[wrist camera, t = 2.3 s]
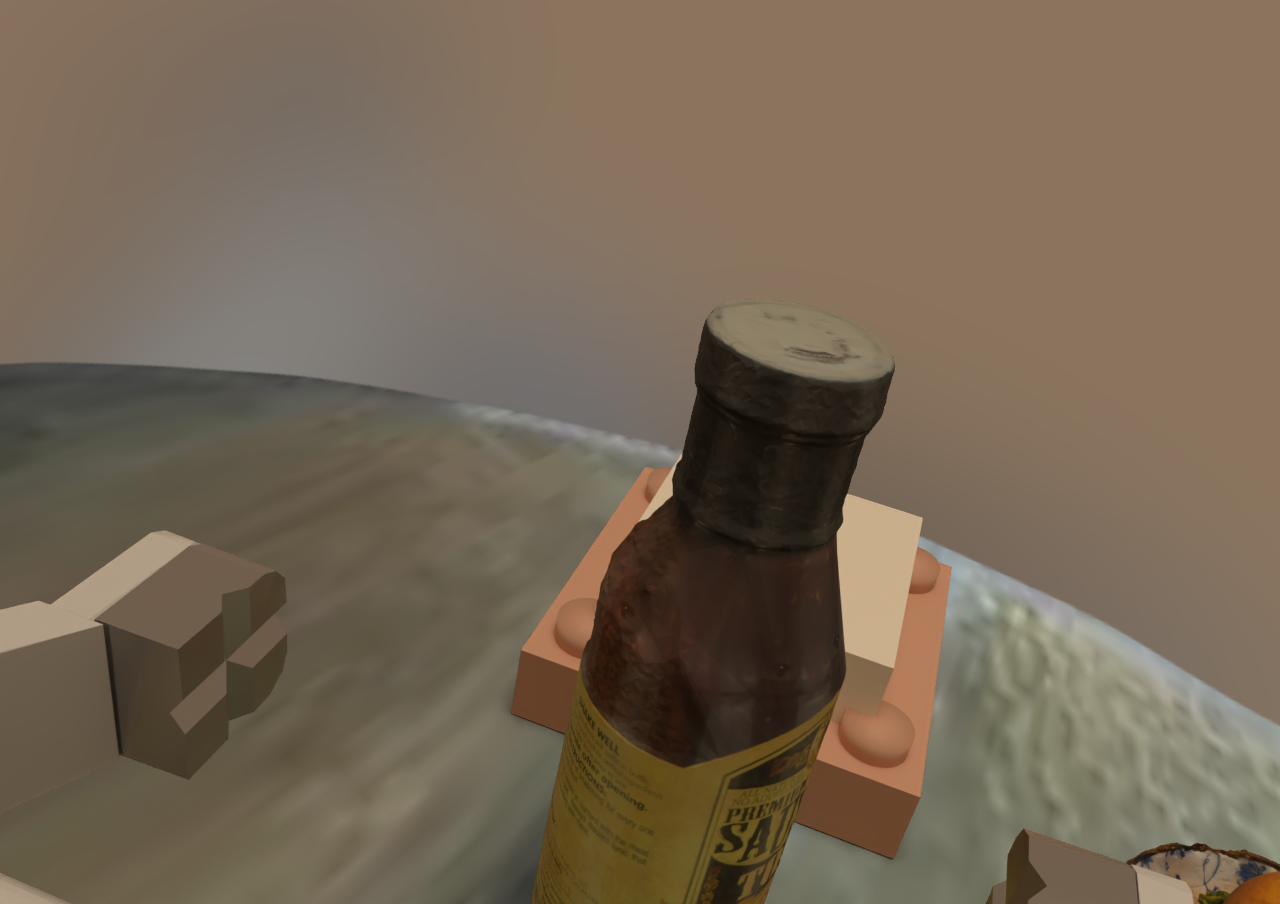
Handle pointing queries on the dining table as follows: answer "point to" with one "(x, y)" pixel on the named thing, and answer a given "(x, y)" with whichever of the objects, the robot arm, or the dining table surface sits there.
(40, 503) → the dining table surface
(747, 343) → the sauce bottle
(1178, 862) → the burger
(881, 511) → the brick stack
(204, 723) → the robot arm
